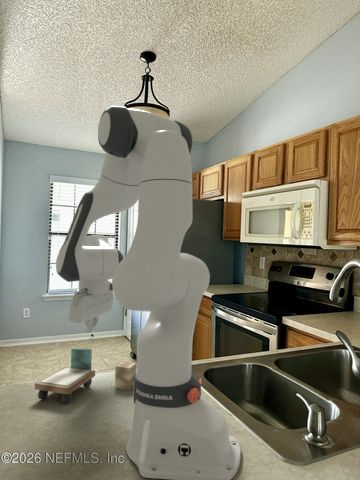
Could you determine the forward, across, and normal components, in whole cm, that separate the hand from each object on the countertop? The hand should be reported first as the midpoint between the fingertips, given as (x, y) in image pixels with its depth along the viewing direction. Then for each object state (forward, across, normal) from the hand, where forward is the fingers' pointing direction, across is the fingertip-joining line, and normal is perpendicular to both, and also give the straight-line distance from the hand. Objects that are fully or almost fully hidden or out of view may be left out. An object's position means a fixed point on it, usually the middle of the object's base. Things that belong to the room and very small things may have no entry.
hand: (91, 331), depth 105 cm
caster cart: (+14, -13, -1) cm, 19 cm away
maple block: (+14, -3, -14) cm, 19 cm away
